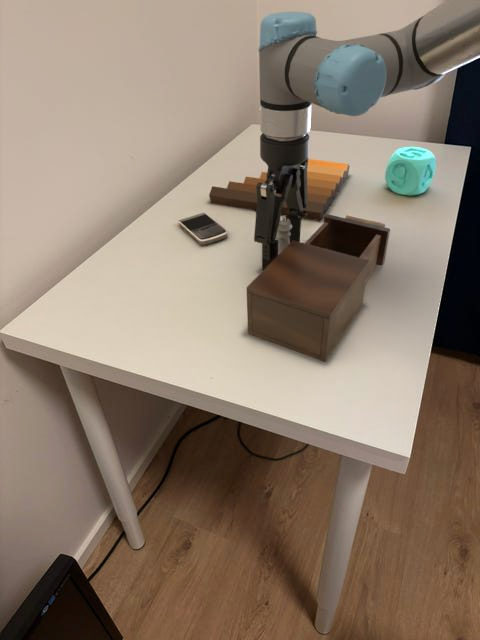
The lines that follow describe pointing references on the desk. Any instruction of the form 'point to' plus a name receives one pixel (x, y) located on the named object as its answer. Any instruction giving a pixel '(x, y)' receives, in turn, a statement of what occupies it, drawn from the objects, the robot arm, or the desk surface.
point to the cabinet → (306, 298)
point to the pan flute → (320, 186)
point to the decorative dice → (410, 170)
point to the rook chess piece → (283, 234)
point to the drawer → (353, 238)
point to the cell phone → (203, 228)
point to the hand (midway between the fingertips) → (281, 259)
